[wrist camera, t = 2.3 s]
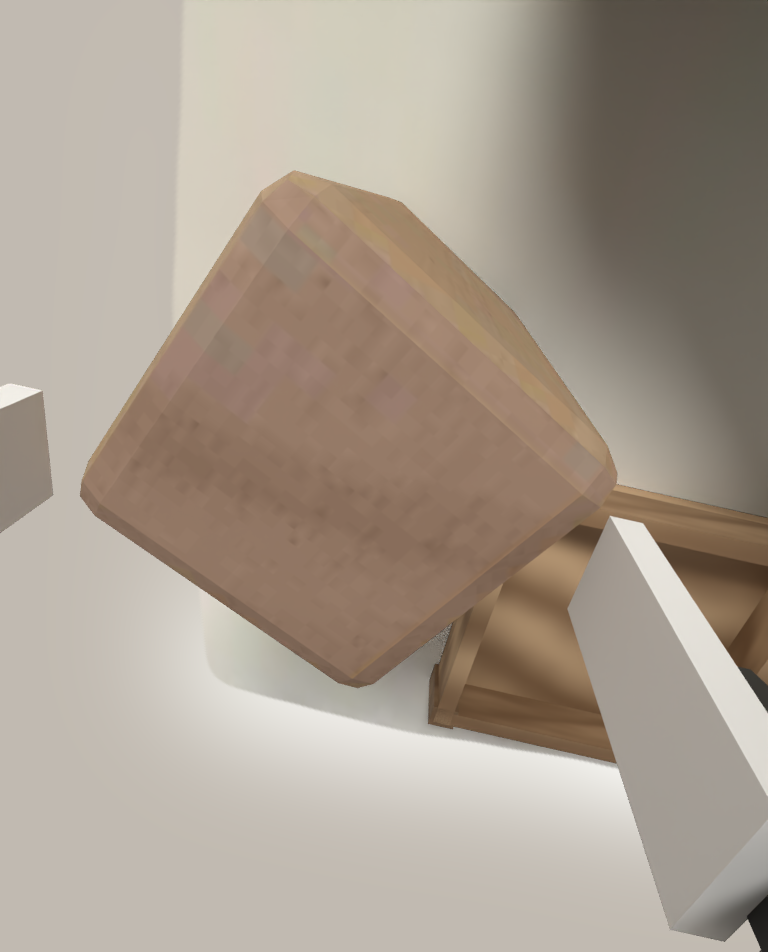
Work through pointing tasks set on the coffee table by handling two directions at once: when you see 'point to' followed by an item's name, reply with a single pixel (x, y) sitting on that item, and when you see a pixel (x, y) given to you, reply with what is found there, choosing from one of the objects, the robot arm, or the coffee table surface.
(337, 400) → the wooden block
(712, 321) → the coffee table surface
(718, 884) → the robot arm
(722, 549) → the crate
